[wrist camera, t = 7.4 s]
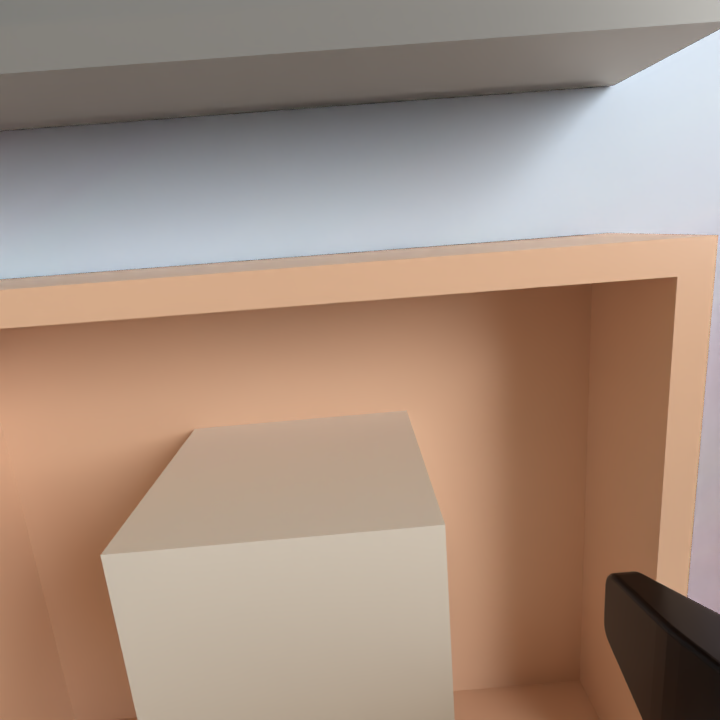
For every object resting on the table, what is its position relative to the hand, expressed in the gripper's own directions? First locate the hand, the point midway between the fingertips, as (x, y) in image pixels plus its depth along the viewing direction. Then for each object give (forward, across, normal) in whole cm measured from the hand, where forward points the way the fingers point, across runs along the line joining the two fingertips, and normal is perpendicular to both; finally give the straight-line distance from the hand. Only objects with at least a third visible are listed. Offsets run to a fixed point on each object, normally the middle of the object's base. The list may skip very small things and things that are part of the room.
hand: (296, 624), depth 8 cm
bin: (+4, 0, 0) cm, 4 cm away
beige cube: (+3, 0, 0) cm, 3 cm away
